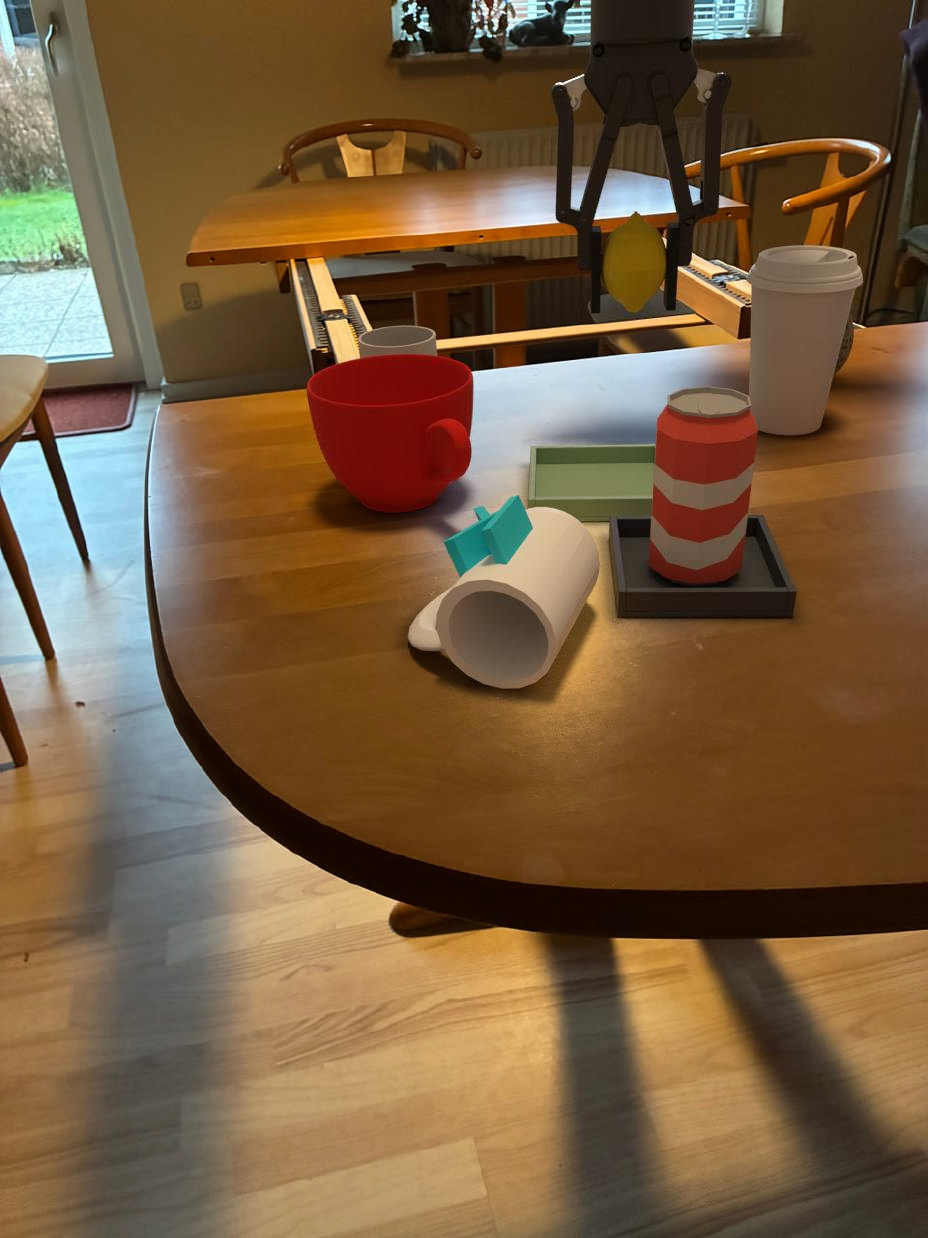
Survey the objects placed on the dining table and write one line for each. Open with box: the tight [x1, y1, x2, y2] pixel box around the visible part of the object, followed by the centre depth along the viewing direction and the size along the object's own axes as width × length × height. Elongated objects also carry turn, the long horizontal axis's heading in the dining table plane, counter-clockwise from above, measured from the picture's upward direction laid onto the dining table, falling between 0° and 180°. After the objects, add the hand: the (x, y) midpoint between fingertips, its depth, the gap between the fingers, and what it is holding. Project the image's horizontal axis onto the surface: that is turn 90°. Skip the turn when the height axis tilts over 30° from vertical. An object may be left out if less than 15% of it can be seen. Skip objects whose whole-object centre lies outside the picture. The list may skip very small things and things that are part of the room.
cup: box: [357, 325, 438, 358], centre depth 89 cm, size 7×10×9 cm
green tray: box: [527, 443, 656, 522], centre depth 77 cm, size 11×11×2 cm
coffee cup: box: [746, 244, 864, 436], centre depth 85 cm, size 10×10×15 cm
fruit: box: [601, 210, 668, 313], centre depth 79 cm, size 6×6×8 cm
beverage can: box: [649, 386, 759, 587], centre depth 62 cm, size 6×6×12 cm
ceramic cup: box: [306, 354, 475, 514], centre depth 75 cm, size 13×17×10 cm
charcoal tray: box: [608, 514, 798, 618], centre depth 65 cm, size 11×11×2 cm
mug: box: [407, 494, 601, 690], centre depth 59 cm, size 12×9×12 cm
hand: (632, 307), depth 81 cm, fingers closed on fruit, 5 cm apart
